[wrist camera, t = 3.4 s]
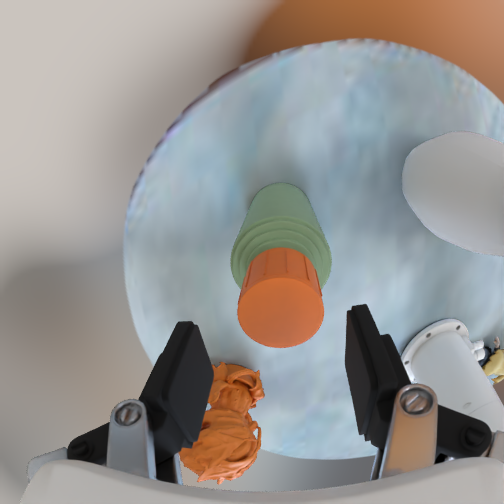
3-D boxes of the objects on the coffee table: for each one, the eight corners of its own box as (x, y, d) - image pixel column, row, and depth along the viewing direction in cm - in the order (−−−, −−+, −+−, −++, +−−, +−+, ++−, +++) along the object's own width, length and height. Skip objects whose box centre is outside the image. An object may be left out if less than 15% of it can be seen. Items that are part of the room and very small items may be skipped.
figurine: (444, 364, 39) (490, 374, 37) (453, 385, 34) (500, 391, 32) (472, 321, 35) (516, 336, 33) (485, 340, 30) (528, 352, 28)
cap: (313, 242, 15) (322, 272, 12) (317, 305, 16) (324, 343, 13) (240, 251, 15) (229, 282, 12) (251, 312, 17) (245, 350, 14)
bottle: (307, 179, 28) (347, 239, 11) (313, 237, 30) (346, 352, 14) (246, 187, 29) (199, 256, 12) (255, 244, 31) (228, 362, 15)
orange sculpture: (184, 358, 39) (145, 459, 23) (252, 344, 37) (234, 463, 20) (217, 402, 43) (195, 493, 26) (278, 392, 40) (272, 494, 24)
